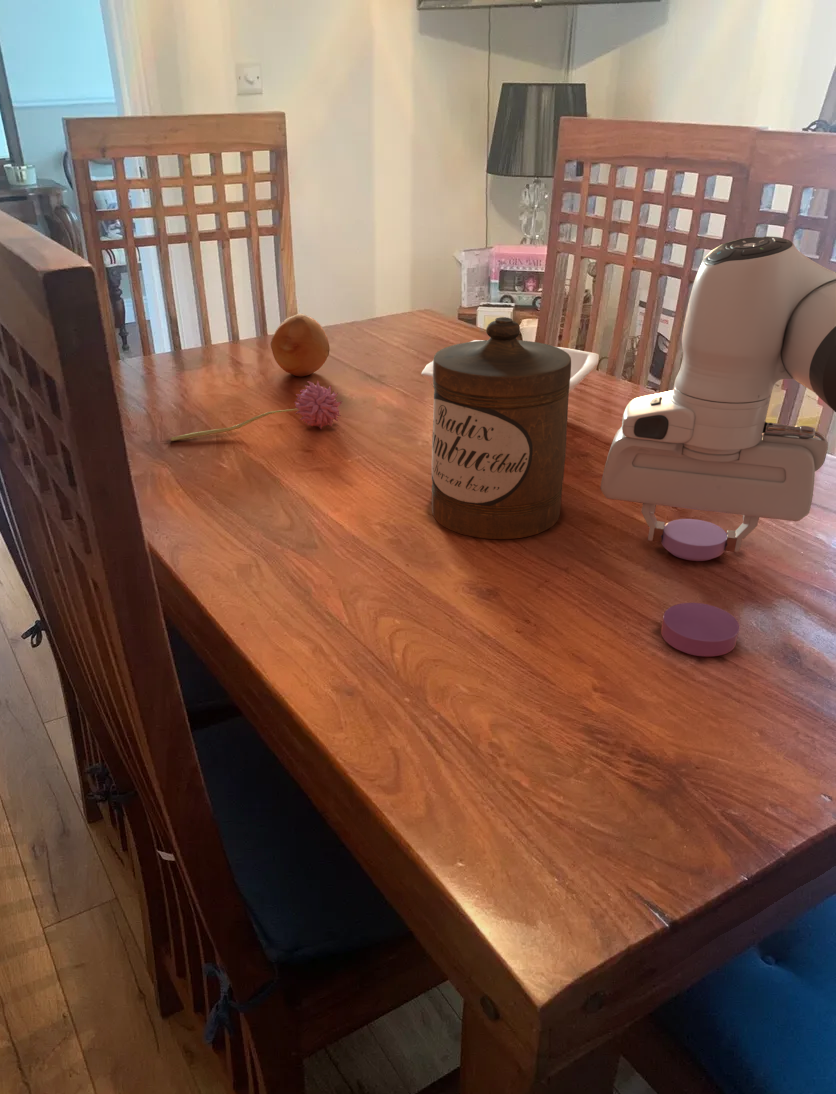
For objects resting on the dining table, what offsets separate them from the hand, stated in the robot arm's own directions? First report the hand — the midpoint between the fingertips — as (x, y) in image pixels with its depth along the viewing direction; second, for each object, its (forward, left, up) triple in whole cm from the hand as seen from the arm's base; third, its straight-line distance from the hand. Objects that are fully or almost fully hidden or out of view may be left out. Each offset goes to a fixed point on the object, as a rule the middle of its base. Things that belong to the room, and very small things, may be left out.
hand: (692, 544), depth 91 cm
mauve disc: (-1, +18, -1) cm, 18 cm away
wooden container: (+22, -3, -1) cm, 22 cm away
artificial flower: (+60, -19, -1) cm, 63 cm away
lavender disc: (0, 0, -1) cm, 1 cm away
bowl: (+27, -35, -1) cm, 44 cm away
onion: (+66, -48, -1) cm, 82 cm away
